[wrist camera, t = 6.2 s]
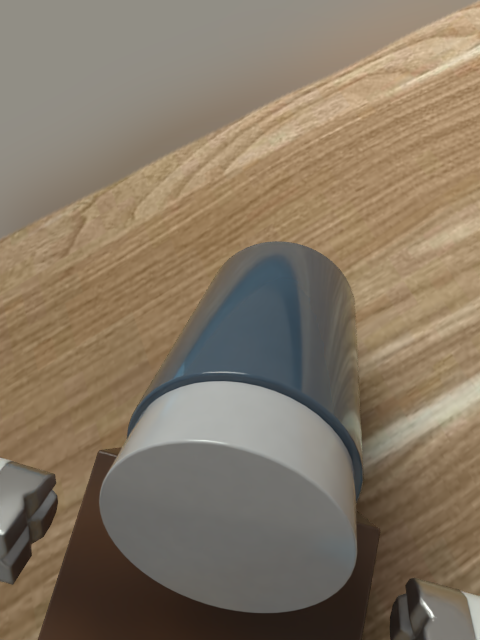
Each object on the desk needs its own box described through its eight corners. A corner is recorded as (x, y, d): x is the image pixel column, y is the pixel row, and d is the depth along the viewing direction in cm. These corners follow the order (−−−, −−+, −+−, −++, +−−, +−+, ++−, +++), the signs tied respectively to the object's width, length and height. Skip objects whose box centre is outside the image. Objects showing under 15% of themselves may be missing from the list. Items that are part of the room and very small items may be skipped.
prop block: (134, 444, 20) (98, 449, 16) (349, 504, 20) (381, 528, 15) (84, 610, 19) (25, 672, 14) (315, 683, 18) (339, 776, 13)
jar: (225, 266, 22) (195, 83, 11) (351, 295, 22) (465, 137, 10) (154, 515, 20) (9, 640, 8) (296, 557, 19) (366, 755, 7)
